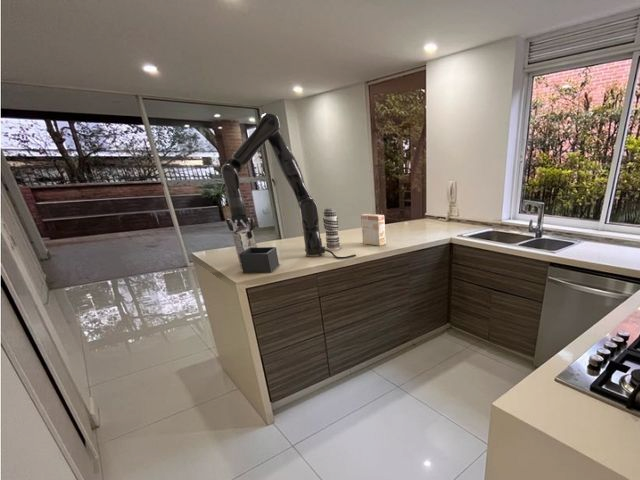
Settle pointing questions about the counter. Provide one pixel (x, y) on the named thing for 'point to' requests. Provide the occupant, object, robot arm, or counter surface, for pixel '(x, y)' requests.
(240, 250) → the candy bar box
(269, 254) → the bin
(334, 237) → the decorative candle
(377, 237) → the coffeecake box
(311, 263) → the counter surface
